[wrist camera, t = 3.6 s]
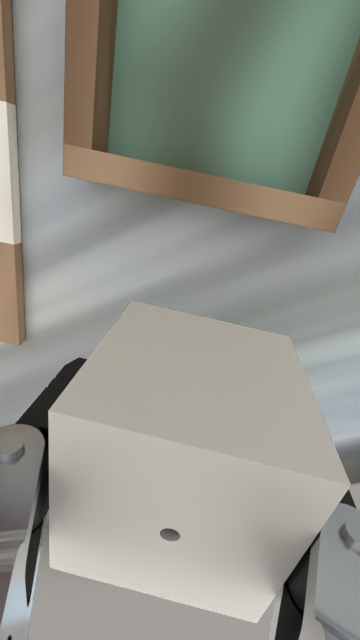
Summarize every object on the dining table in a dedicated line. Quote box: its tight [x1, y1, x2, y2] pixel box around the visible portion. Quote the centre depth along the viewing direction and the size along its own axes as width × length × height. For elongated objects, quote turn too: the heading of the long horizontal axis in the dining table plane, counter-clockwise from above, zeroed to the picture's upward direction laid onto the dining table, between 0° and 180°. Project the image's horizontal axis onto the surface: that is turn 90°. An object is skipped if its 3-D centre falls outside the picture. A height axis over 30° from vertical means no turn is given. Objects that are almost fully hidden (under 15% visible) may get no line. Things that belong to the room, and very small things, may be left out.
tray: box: [63, 0, 360, 233], centre depth 10 cm, size 10×10×2 cm
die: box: [48, 301, 351, 623], centre depth 8 cm, size 5×5×5 cm
